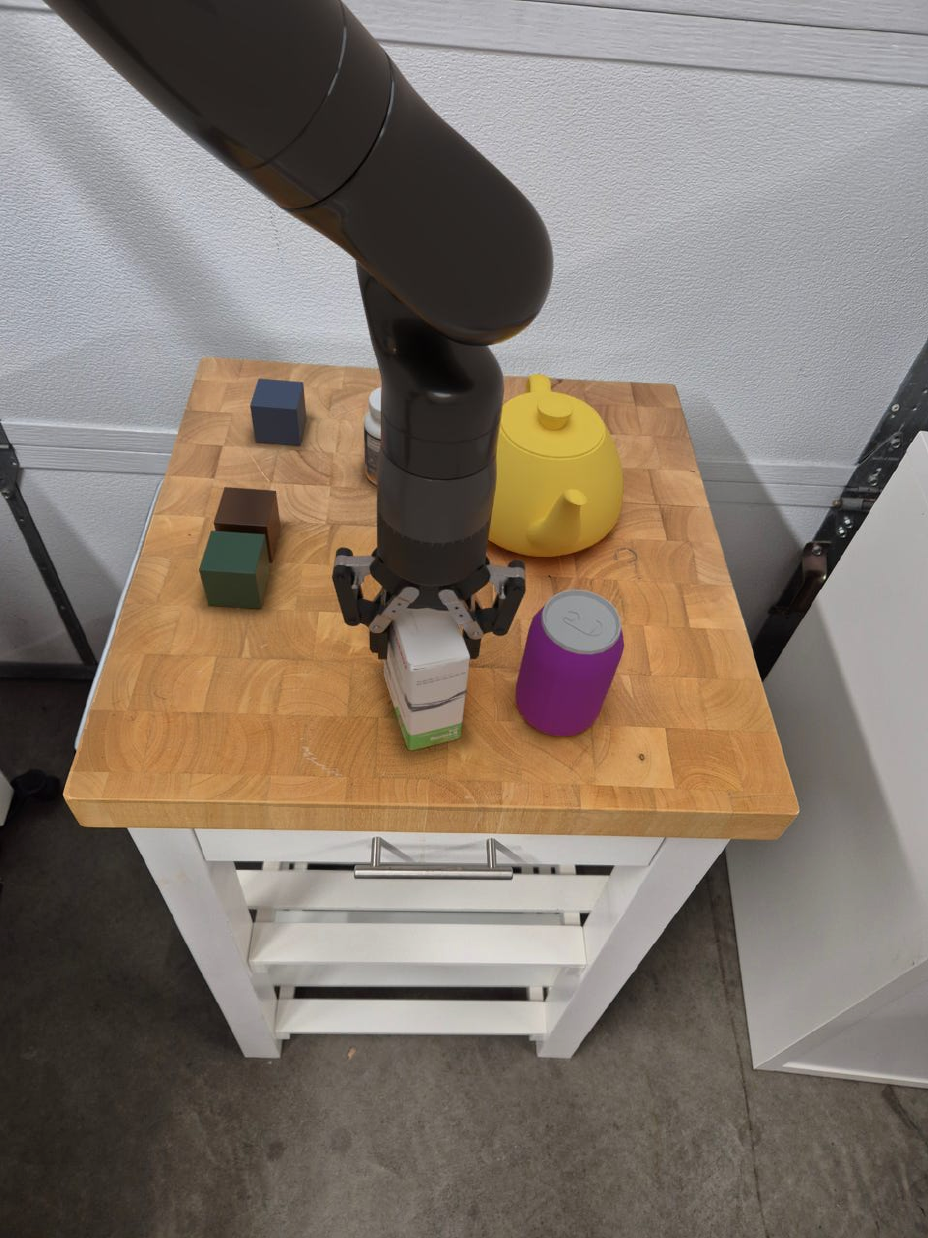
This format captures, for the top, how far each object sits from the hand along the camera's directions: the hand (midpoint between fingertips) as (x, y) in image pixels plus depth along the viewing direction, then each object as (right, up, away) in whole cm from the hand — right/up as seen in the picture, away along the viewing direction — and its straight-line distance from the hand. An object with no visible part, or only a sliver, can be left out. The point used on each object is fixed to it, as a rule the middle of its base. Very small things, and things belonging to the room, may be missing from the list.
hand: (424, 653), depth 65 cm
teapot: (+11, +14, +22) cm, 28 cm away
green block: (-18, +6, +13) cm, 23 cm away
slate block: (-18, +24, +28) cm, 41 cm away
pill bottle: (-5, +19, +25) cm, 31 cm away
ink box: (-1, -5, +6) cm, 8 cm away
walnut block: (-18, +10, +16) cm, 27 cm away
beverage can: (+11, -5, +7) cm, 14 cm away
